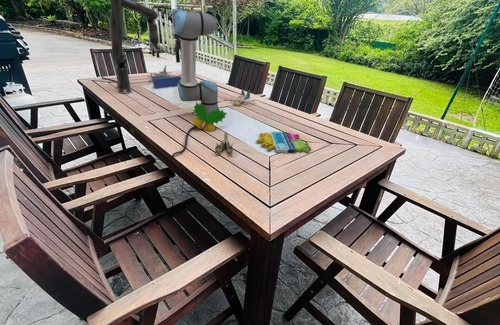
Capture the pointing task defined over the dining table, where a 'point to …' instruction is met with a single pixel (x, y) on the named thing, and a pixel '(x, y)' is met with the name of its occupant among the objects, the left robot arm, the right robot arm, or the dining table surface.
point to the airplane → (160, 74)
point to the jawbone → (224, 145)
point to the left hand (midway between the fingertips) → (155, 57)
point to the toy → (241, 99)
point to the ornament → (207, 117)
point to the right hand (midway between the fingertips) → (180, 64)
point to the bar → (166, 82)
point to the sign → (283, 142)
